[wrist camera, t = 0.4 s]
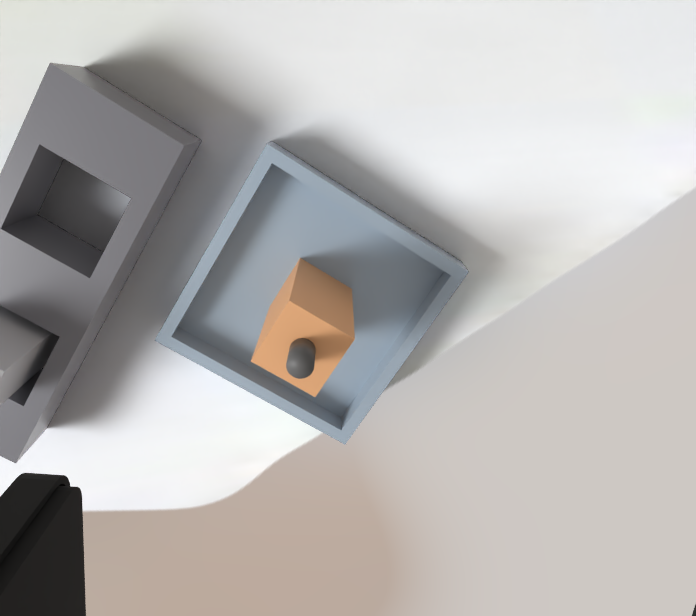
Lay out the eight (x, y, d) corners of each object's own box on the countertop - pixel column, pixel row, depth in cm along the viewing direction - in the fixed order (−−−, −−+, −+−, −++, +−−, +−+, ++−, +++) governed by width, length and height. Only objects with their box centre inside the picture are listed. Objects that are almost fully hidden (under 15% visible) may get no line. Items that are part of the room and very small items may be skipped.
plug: (300, 257, 40) (285, 313, 30) (351, 289, 41) (355, 354, 30) (269, 306, 41) (245, 377, 31) (320, 336, 42) (313, 415, 32)
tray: (271, 140, 39) (266, 143, 36) (461, 261, 41) (468, 271, 39) (165, 326, 42) (154, 340, 40) (344, 425, 45) (344, 444, 43)
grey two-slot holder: (83, 66, 37) (50, 62, 33) (201, 140, 38) (184, 145, 34) (-60, 375, 43) (-103, 405, 39) (46, 428, 45) (15, 463, 41)
